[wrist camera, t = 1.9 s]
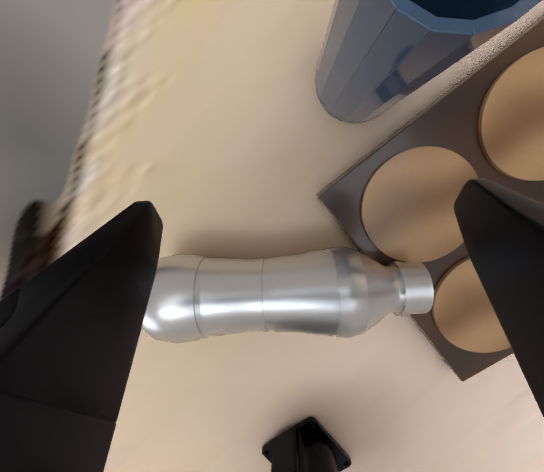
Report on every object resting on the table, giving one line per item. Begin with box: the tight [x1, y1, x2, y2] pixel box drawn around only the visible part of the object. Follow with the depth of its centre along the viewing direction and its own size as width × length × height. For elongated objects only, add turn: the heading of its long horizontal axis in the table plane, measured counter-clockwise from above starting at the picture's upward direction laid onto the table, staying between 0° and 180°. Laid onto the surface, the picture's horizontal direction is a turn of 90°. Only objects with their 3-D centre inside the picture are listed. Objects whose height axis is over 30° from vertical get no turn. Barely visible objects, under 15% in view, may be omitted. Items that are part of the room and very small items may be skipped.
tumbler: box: [315, 0, 542, 123], centre depth 13 cm, size 6×6×12 cm
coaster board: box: [317, 16, 544, 381], centre depth 20 cm, size 20×20×2 cm
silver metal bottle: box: [142, 247, 434, 343], centre depth 19 cm, size 6×7×20 cm
